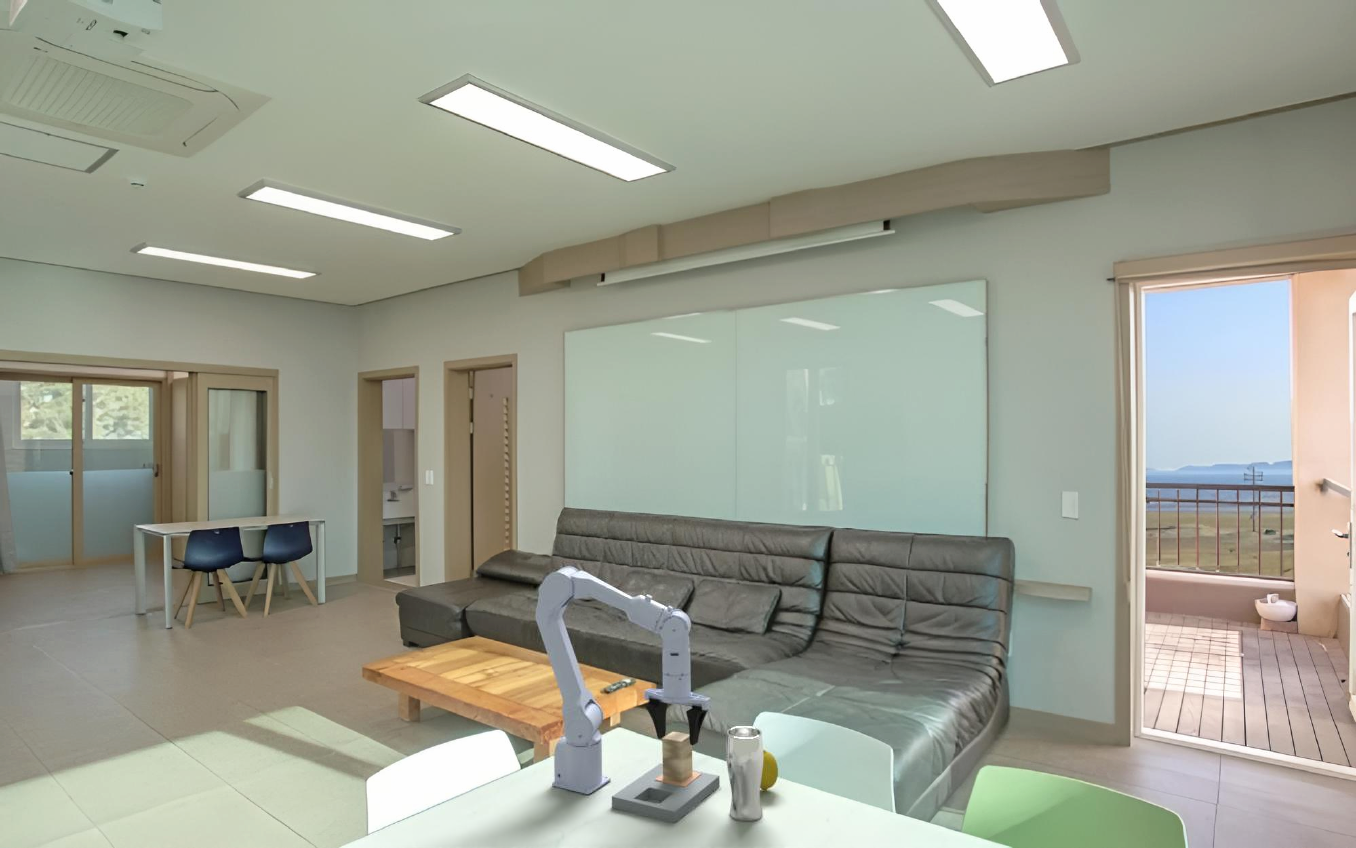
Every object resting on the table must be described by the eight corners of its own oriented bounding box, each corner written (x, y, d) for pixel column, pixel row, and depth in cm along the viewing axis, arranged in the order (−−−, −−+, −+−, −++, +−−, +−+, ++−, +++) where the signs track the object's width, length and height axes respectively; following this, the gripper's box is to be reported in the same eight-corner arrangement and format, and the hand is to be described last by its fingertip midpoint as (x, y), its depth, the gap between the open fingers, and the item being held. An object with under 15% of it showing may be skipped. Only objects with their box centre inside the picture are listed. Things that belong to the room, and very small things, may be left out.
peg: (662, 778, 152) (662, 738, 152) (673, 771, 156) (673, 731, 156) (681, 783, 150) (681, 741, 150) (692, 775, 154) (691, 734, 154)
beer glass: (768, 808, 143) (766, 727, 144) (760, 825, 136) (758, 740, 137) (732, 803, 145) (731, 724, 146) (723, 820, 139) (721, 736, 139)
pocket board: (611, 807, 145) (611, 795, 145) (660, 773, 160) (660, 762, 160) (675, 823, 138) (674, 810, 138) (719, 786, 153) (719, 774, 153)
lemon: (777, 798, 147) (776, 756, 148) (749, 796, 148) (748, 754, 149) (779, 786, 153) (778, 745, 153) (752, 784, 154) (751, 744, 154)
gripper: (635, 672, 154) (636, 740, 154) (698, 682, 147) (699, 753, 146) (654, 664, 160) (655, 729, 160) (715, 673, 153) (716, 741, 152)
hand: (677, 740), depth 153 cm, fingers open, 7 cm apart
